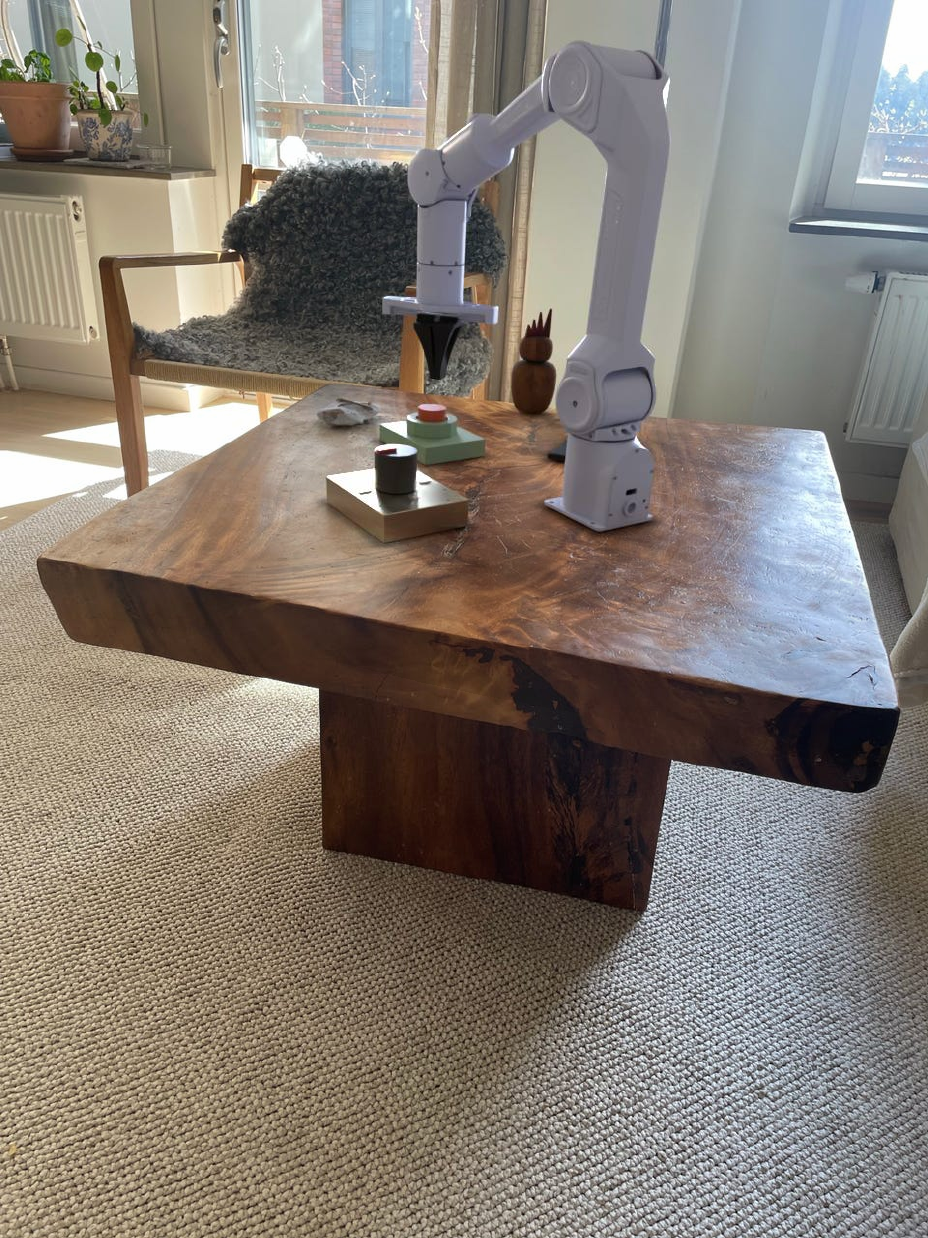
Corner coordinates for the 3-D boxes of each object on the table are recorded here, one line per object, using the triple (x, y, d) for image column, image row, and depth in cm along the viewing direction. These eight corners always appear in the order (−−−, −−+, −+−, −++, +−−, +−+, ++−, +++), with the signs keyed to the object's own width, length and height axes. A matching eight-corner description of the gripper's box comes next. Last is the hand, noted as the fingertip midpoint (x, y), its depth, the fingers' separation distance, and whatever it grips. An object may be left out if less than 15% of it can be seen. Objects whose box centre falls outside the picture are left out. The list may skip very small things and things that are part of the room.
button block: (484, 455, 115) (486, 425, 113) (425, 465, 110) (426, 433, 108) (436, 432, 123) (437, 403, 122) (379, 439, 119) (379, 410, 117)
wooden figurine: (553, 407, 138) (562, 307, 132) (552, 417, 133) (562, 312, 126) (510, 404, 139) (516, 304, 132) (507, 414, 134) (515, 309, 127)
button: (451, 422, 115) (451, 409, 114) (427, 425, 113) (427, 411, 112) (436, 415, 117) (436, 402, 117) (412, 418, 116) (413, 405, 115)
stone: (341, 410, 132) (340, 392, 130) (386, 416, 129) (386, 398, 128) (310, 426, 123) (309, 407, 122) (358, 432, 121) (357, 413, 120)
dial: (403, 477, 96) (404, 439, 94) (424, 490, 93) (425, 450, 91) (367, 483, 94) (367, 444, 92) (387, 496, 91) (387, 455, 89)
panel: (467, 526, 93) (469, 497, 91) (383, 543, 88) (383, 513, 86) (405, 488, 102) (406, 462, 101) (326, 502, 97) (325, 474, 96)
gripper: (371, 261, 105) (372, 377, 111) (487, 271, 101) (481, 391, 107) (395, 256, 111) (394, 367, 117) (505, 265, 107) (499, 379, 113)
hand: (437, 378), depth 113 cm, fingers closed
